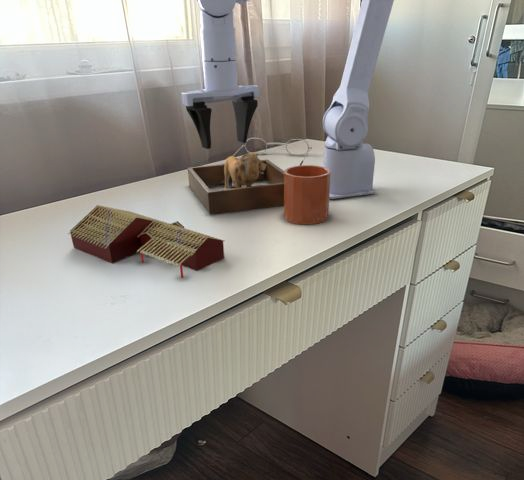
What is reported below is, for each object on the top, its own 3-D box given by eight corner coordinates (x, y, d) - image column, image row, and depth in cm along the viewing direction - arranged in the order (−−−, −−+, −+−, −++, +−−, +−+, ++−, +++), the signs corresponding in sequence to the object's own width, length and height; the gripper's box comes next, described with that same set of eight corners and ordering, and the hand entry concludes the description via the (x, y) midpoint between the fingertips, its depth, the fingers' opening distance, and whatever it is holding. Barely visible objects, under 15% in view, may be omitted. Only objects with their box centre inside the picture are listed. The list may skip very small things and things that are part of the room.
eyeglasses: (311, 155, 128) (312, 138, 126) (299, 178, 113) (299, 159, 111) (242, 153, 132) (242, 136, 129) (221, 174, 117) (220, 156, 114)
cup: (317, 207, 95) (319, 163, 90) (335, 221, 88) (338, 174, 84) (278, 212, 93) (277, 167, 88) (293, 227, 87) (294, 179, 82)
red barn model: (226, 256, 77) (224, 222, 74) (163, 287, 69) (158, 249, 66) (134, 226, 88) (129, 195, 86) (70, 248, 80) (62, 215, 77)
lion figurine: (270, 201, 99) (269, 152, 94) (246, 206, 96) (245, 156, 91) (231, 183, 109) (229, 139, 104) (209, 188, 106) (206, 142, 101)
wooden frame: (268, 178, 112) (267, 159, 110) (299, 203, 97) (299, 181, 95) (189, 187, 107) (187, 167, 105) (209, 214, 93) (207, 192, 90)
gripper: (242, 56, 92) (245, 136, 100) (170, 61, 86) (179, 146, 93) (264, 58, 87) (266, 141, 95) (189, 64, 81) (197, 153, 88)
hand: (224, 144), depth 94 cm, fingers open, 7 cm apart
